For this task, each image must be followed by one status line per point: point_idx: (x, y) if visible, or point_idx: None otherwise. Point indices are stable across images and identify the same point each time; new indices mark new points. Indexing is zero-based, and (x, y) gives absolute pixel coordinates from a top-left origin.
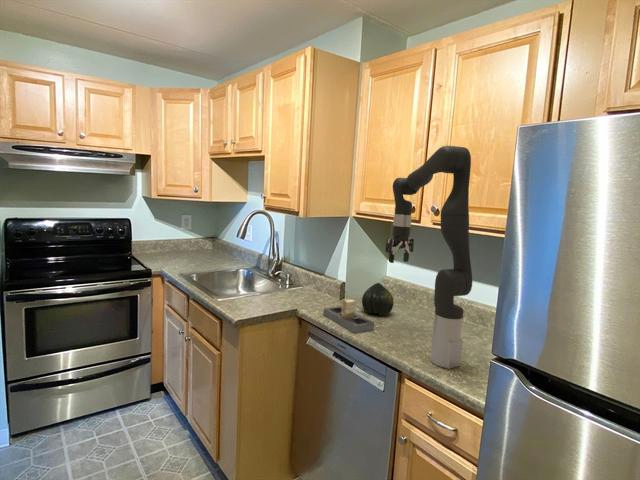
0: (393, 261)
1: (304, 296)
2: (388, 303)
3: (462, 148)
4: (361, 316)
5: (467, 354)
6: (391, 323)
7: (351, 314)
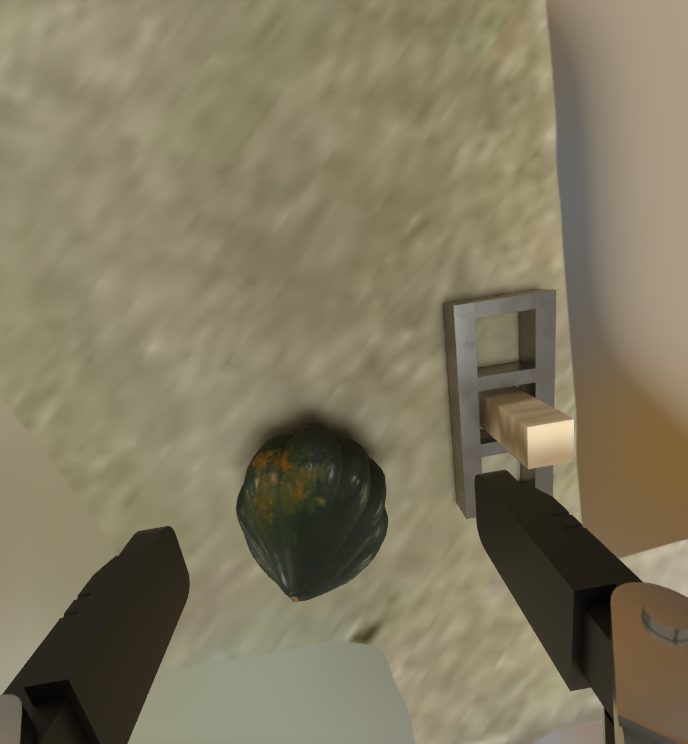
0: (493, 480)
1: (491, 670)
2: (297, 443)
3: None
4: (459, 390)
5: None
6: (325, 348)
7: (508, 400)
